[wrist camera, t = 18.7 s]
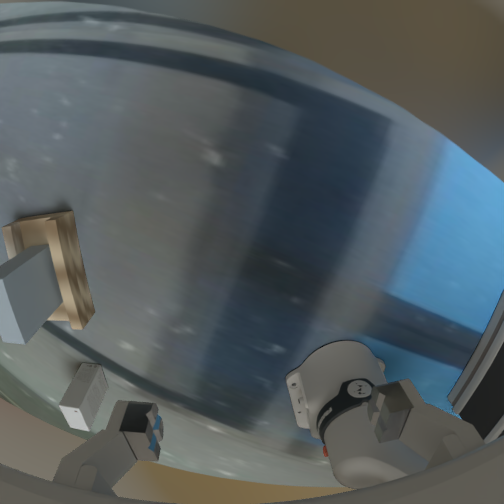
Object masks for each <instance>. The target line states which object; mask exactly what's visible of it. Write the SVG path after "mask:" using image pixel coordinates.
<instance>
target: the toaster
mask: <svg viewBox="0 0 504 504" xmlns="http://www.w3.org/2000/svg"><path fill="white" fill-rule="evenodd" d="M448 400H449V401H450V403H451V404H452V406H453V407H452V410H453V411H454V412H455V413H456V414H459V415H460V416H461V418H462V419H463V420H464V421H466V422H468V423H470V424H472V425H473V426H474V427H475V429H476V430H477V432H478V433H479V435H480V436H481V438H482V439H483V441H484V442H485V444H487V443H489V442H491V441H493V440H495V439H497V438H499V437H501V436H503V435H504V291H503V293H502V295H501V298H500V300H499V302H498V304H497V307H496V309H495V311H494V313H493V316H492V318H491V320H490V322H489V324H488V326H487V328H486V330H485V332H484V334H483V336H482V338H481V340H480V342H479V344H478V346H477V348H476V349H475V351H474V353H473V355H472V357H471V359H470V360H469V362H468V364H467V366H466V367H465V369H464V371H463V372H462V374H461V376H460V377H459V379H458V381H457V382H456V384H455V386H454V387H453V389H452V390H451V392H450V393H449V395H448Z"/></svg>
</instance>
